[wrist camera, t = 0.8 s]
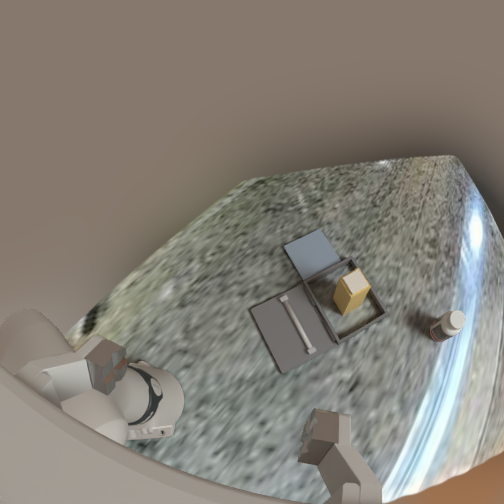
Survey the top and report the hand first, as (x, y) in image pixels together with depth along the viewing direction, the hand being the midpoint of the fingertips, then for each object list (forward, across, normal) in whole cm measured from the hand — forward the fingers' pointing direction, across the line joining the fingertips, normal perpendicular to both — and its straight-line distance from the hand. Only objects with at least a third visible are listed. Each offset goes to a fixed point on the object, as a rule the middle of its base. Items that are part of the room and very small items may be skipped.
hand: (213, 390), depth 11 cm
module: (+53, +15, -21) cm, 59 cm away
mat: (+61, +5, -15) cm, 63 cm away
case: (+51, +10, -24) cm, 57 cm away
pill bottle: (+50, +39, -21) cm, 66 cm away
